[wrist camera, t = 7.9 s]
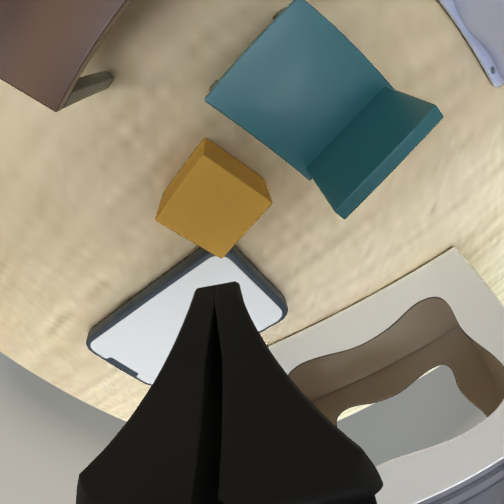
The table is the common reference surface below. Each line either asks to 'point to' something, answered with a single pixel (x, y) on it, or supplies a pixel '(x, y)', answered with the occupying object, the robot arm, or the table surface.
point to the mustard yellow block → (213, 199)
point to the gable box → (412, 366)
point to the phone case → (178, 311)
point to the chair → (322, 106)
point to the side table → (55, 47)
